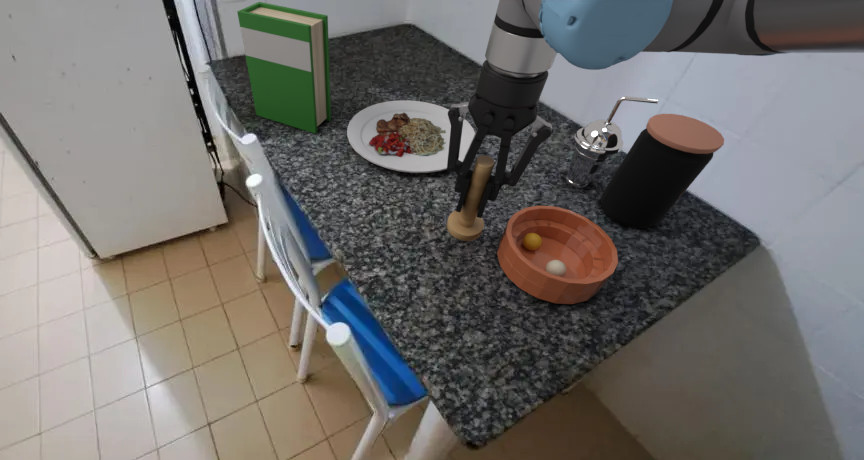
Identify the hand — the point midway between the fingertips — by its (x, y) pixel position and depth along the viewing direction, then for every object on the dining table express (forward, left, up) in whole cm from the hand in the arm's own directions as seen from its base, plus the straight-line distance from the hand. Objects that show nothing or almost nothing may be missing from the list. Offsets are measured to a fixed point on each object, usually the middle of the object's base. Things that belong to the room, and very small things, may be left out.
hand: (470, 209), depth 63 cm
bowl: (+1, -15, -9) cm, 17 cm away
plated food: (+29, +17, -9) cm, 35 cm away
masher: (+1, 0, -6) cm, 6 cm away
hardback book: (+27, +47, -9) cm, 55 cm away
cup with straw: (+27, -20, -9) cm, 35 cm away
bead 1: (+4, -12, -7) cm, 14 cm away
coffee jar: (+21, -29, -9) cm, 37 cm away
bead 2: (-1, -16, -7) cm, 17 cm away
